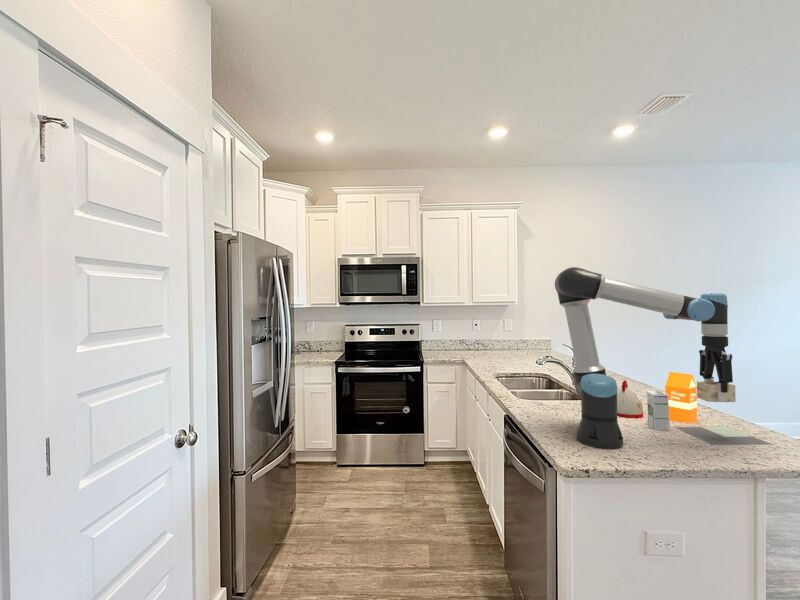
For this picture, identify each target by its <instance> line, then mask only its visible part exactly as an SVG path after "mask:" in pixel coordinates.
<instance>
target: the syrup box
mask: <svg viewBox="0 0 800 600" xmlns="http://www.w3.org/2000/svg"><path fill="white" fill-rule="evenodd" d="M646 393H647V394H646V398H647V399H646V401H647V403H646V404H647V425H648V427H649V428H651V429H652V430H655V431H671V430H670V420H669V400H668V394H666V393H665V392H664V391H661V390H659V391H658V390H647V391H646Z"/></svg>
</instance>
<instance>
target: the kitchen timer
mask: <svg viewBox="0 0 800 600" xmlns="http://www.w3.org/2000/svg"><path fill="white" fill-rule="evenodd" d="M621 383H622V384H621V387H620V388H618V390H617V416H618V417H619V418H624V419H634V418H635V419H642V418H644V407H643V402H642V399H640V398H639V397H638V395H637V393H635V392H634V391H633V390H632V389H630V388H629V387H628V385H629V384H628V382H627V380H625V379H624V380H623V381H622V382H621ZM618 417H617V418H618Z"/></svg>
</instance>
